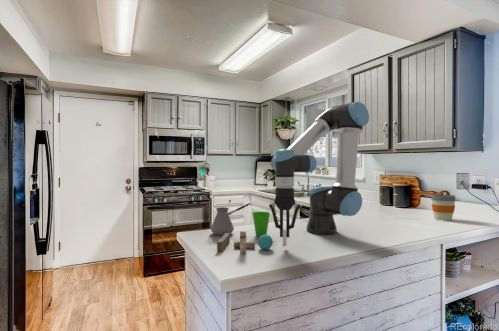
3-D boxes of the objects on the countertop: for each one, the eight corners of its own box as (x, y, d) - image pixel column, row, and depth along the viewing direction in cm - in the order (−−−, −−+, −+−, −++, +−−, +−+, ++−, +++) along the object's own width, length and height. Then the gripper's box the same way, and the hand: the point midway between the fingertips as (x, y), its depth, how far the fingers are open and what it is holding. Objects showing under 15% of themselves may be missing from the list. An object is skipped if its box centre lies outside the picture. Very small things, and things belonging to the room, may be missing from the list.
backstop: (229, 242, 126) (229, 233, 125) (222, 252, 112) (222, 242, 112) (225, 242, 126) (225, 233, 126) (217, 251, 112) (217, 241, 112)
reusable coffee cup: (434, 220, 171) (434, 196, 171) (428, 217, 183) (428, 194, 183) (458, 222, 168) (459, 197, 167) (451, 218, 179) (451, 194, 179)
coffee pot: (213, 238, 133) (213, 206, 133) (208, 232, 144) (208, 203, 144) (255, 234, 140) (255, 204, 139) (248, 229, 150) (248, 201, 150)
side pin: (246, 252, 111) (246, 230, 111) (245, 254, 109) (245, 232, 109) (240, 252, 112) (240, 230, 112) (239, 254, 109) (239, 232, 109)
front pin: (254, 241, 118) (234, 240, 119) (254, 243, 115) (233, 242, 116) (254, 247, 118) (234, 246, 119) (254, 249, 116) (233, 248, 117)
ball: (258, 232, 118) (258, 246, 119) (257, 237, 112) (257, 252, 113) (272, 232, 118) (272, 246, 118) (272, 237, 112) (272, 252, 112)
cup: (248, 236, 136) (248, 213, 135) (257, 232, 144) (256, 210, 143) (265, 238, 131) (265, 215, 131) (273, 234, 139) (273, 212, 139)
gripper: (267, 187, 112) (267, 247, 112) (301, 188, 110) (301, 248, 110) (269, 186, 119) (269, 241, 120) (300, 186, 117) (300, 243, 118)
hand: (284, 245), depth 115 cm, fingers closed
